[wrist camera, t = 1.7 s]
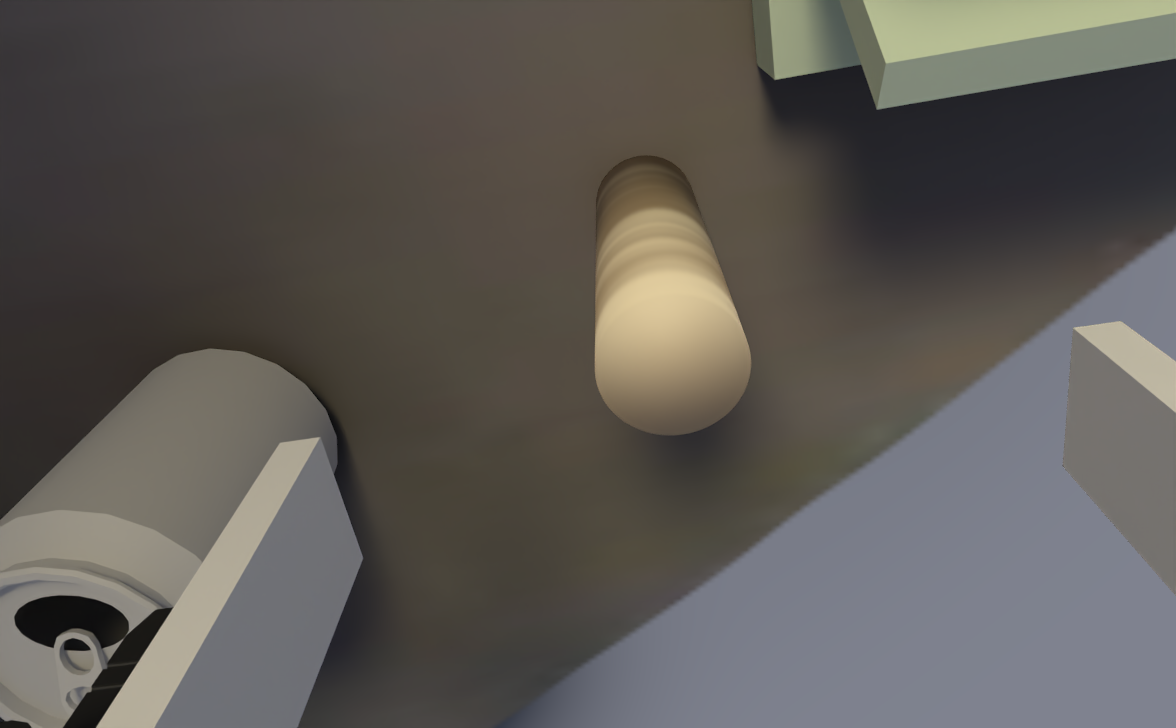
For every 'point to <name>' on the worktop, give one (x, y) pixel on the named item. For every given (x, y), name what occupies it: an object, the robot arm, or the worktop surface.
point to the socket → (959, 41)
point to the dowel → (662, 305)
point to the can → (135, 518)
